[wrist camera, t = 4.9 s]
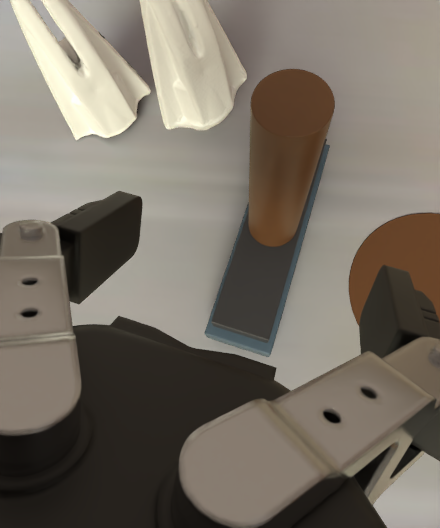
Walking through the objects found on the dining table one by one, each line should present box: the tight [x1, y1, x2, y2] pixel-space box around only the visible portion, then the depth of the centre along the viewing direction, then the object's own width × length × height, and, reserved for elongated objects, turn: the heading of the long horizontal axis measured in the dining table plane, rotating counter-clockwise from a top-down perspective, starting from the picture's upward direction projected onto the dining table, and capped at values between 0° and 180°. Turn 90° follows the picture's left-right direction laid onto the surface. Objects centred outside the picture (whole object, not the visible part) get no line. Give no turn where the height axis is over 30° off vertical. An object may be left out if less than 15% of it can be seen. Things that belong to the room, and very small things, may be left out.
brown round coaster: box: [349, 213, 440, 325], centre depth 23 cm, size 10×10×1 cm
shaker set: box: [10, 0, 247, 140], centre depth 23 cm, size 12×4×11 cm, turn 88°
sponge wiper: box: [205, 69, 335, 357], centre depth 19 cm, size 4×13×13 cm, turn 162°
